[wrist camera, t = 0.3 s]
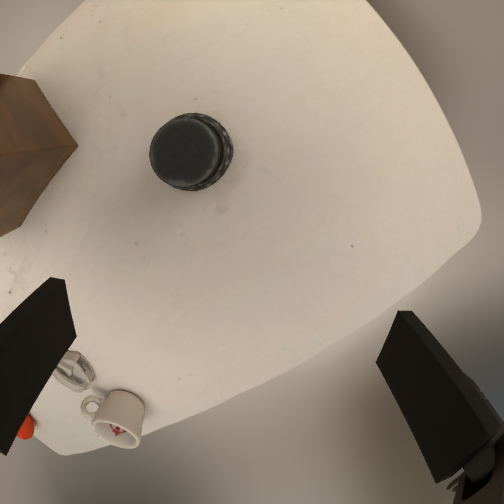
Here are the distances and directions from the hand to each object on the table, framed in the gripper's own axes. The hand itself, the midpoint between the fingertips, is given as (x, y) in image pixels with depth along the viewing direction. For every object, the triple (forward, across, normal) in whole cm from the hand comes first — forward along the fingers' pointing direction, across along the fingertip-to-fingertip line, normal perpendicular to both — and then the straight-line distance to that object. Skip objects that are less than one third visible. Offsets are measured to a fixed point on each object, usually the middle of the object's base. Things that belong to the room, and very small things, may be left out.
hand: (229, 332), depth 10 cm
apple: (+21, -49, -54) cm, 76 cm away
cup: (+21, -17, -33) cm, 43 cm away
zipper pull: (+21, -29, -25) cm, 44 cm away
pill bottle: (+21, -4, +6) cm, 22 cm away
